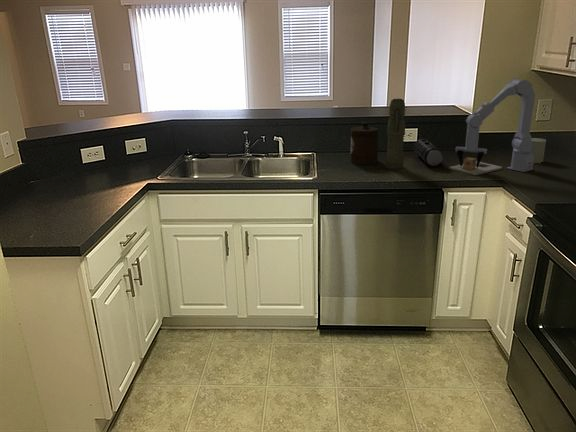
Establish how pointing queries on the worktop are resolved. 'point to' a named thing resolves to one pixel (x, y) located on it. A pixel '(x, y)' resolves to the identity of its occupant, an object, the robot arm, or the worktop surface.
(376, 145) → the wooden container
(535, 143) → the can
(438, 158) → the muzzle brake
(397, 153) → the olive rounded pillar
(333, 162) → the worktop surface
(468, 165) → the plug
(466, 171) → the panel
